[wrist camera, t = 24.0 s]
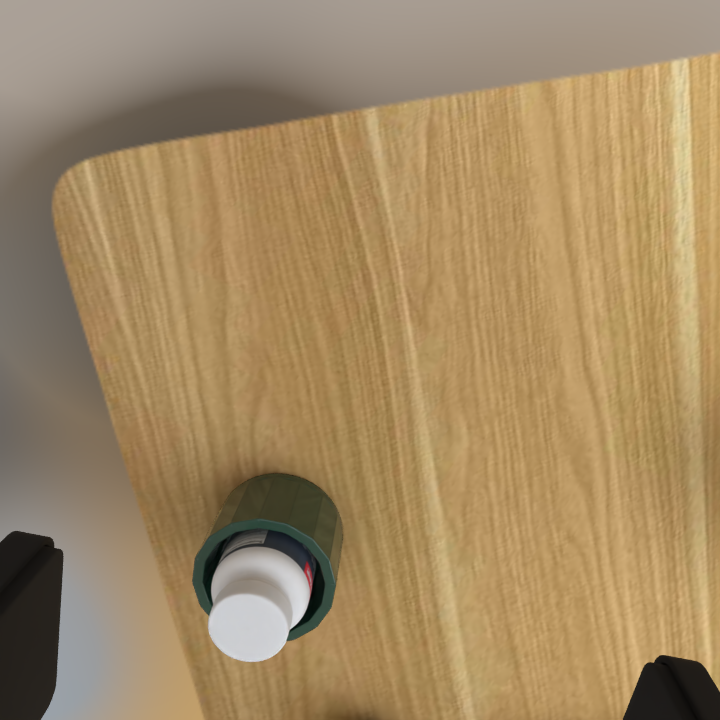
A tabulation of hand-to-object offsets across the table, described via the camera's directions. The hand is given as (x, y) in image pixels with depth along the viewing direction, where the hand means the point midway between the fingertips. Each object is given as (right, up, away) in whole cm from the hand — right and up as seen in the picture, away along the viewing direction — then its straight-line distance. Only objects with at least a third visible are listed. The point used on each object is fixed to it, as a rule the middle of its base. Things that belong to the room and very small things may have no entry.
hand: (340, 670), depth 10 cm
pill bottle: (-5, -6, +30) cm, 31 cm away
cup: (-5, -6, +31) cm, 32 cm away
